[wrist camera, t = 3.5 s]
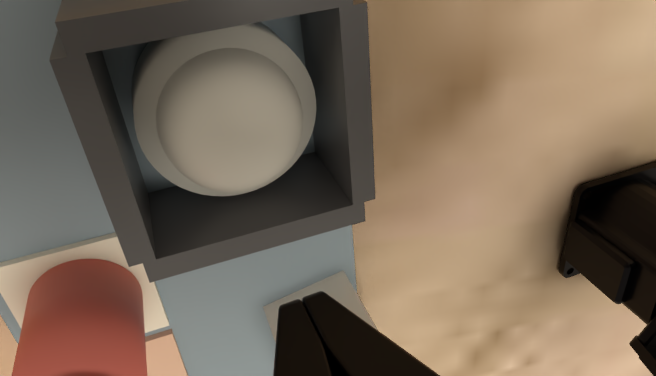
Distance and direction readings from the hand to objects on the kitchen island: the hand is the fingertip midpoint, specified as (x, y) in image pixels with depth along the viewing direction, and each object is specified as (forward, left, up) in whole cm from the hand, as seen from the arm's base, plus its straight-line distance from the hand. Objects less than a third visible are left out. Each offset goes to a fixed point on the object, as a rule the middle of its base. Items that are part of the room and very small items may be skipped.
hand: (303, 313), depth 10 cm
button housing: (0, 0, -11) cm, 11 cm away
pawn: (+6, +7, -10) cm, 14 cm away
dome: (0, 0, -10) cm, 11 cm away
